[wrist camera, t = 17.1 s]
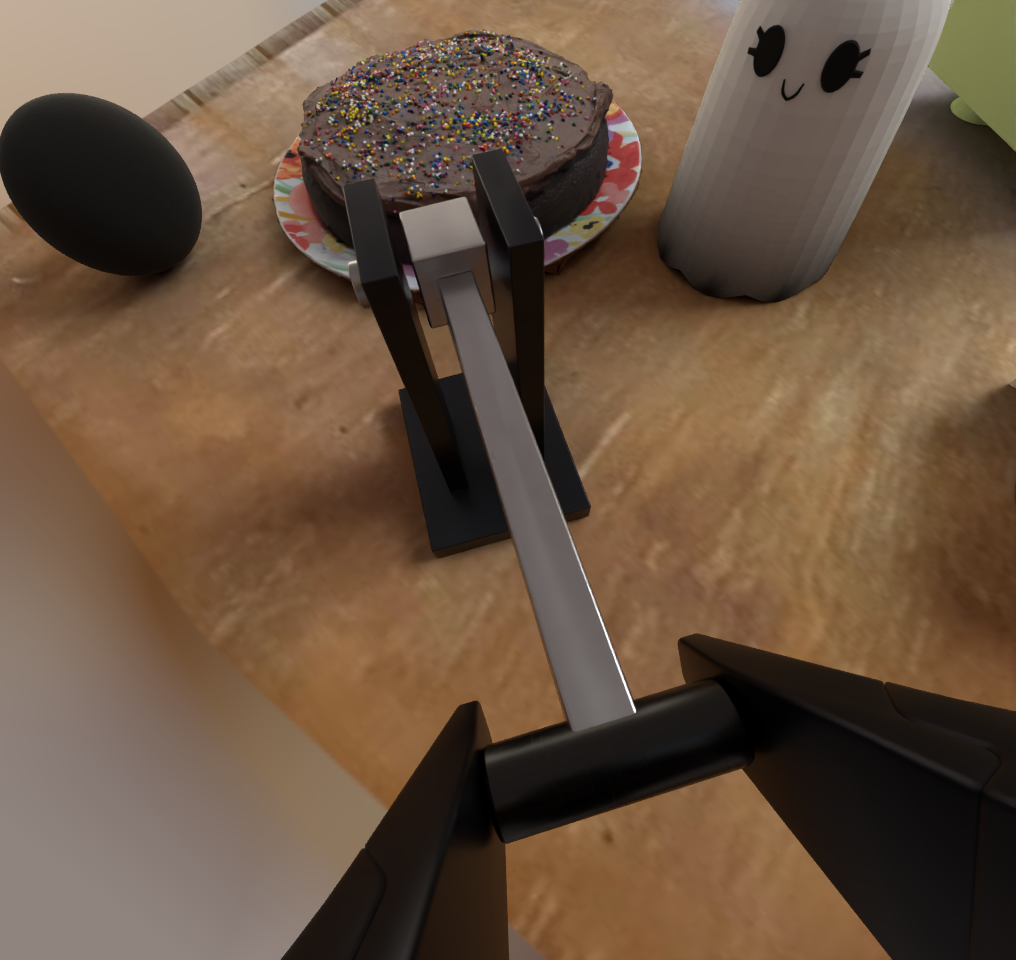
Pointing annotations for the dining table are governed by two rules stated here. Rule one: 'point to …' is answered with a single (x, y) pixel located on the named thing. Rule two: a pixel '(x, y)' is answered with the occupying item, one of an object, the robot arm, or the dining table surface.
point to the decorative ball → (100, 184)
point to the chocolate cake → (458, 144)
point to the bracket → (445, 402)
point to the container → (980, 63)
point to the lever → (559, 592)
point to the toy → (792, 139)
